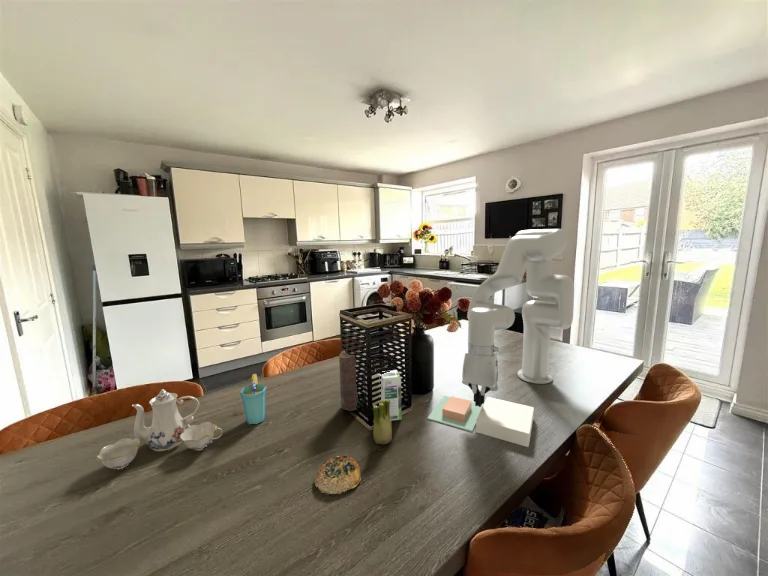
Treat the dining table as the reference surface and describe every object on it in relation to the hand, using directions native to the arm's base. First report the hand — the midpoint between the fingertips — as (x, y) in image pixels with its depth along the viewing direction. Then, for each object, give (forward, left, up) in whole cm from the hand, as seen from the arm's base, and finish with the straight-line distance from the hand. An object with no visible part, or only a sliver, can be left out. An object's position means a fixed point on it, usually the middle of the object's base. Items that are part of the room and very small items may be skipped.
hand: (478, 404), depth 95 cm
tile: (0, -7, -2) cm, 7 cm away
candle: (+14, -39, -5) cm, 42 cm away
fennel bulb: (+24, -21, -5) cm, 32 cm away
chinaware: (+56, -72, -5) cm, 91 cm away
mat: (0, -7, -5) cm, 8 cm away
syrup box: (+12, -25, -5) cm, 28 cm away
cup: (+35, -61, -5) cm, 70 cm away
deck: (0, +8, -5) cm, 9 cm away
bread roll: (+41, -23, -5) cm, 47 cm away
